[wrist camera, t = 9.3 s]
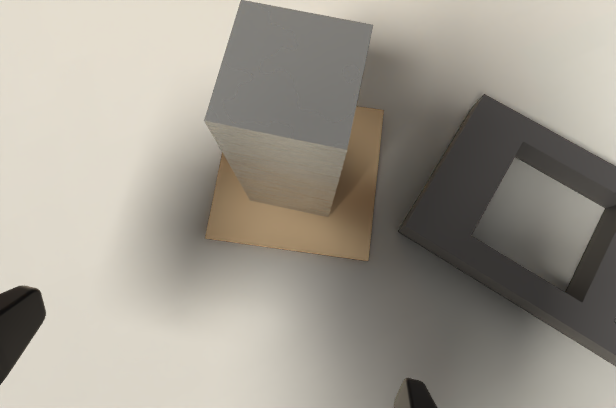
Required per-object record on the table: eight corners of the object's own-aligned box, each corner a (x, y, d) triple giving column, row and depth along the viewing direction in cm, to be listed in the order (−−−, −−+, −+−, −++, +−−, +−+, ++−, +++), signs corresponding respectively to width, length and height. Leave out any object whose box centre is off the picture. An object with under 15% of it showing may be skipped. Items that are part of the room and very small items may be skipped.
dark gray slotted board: (804, 294, 19) (846, 294, 17) (752, 450, 17) (793, 465, 16) (471, 108, 21) (484, 94, 20) (398, 231, 19) (405, 225, 18)
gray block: (344, 143, 20) (373, 25, 11) (328, 217, 19) (347, 150, 11) (269, 127, 20) (241, -1, 12) (250, 200, 19) (204, 120, 11)
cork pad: (367, 261, 19) (368, 260, 19) (206, 238, 19) (204, 237, 19) (382, 112, 21) (383, 109, 21) (235, 93, 21) (234, 90, 21)
